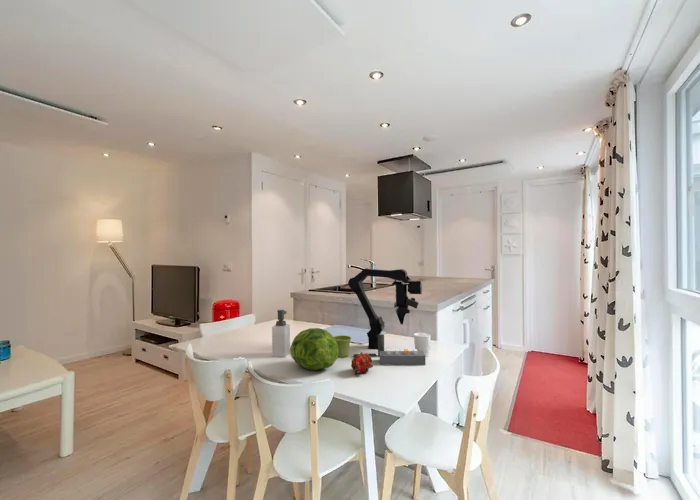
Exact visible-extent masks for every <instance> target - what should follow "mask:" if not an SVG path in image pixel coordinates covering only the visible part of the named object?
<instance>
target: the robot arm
mask: <svg viewBox="0 0 700 500" xmlns="http://www.w3.org/2000/svg"><path fill="white" fill-rule="evenodd" d="M368 277H378V278H388V279H390V280H391V279H392V280H393V282H391V286H395V296H394V297H395V302H394V303H393V308H394V309H395V310H394V311H395V314H396V315H397V318H398V321H399V323H400V325H404V321H405V316H406V314H410V313H411V311H410V310H411V309H410V307H411V308H414V309H417V308H418V306H419V301H417V300H416V298H414V297H411V298H409V296H408V293H409V294H410V295H423V286H422V280H412V279H410V277H409V275H408V271H406V270H405V269H404V268H398V269H397V268H396V269H390V270H388V269H378V268H377V269H376V268H375V269H374V268H366V267H365V268H363V269H362V270H361V271H360V272H359V273H358V274H356V275H355V276H354V277H351V278H349V280H348V282H347V285H348V287H349V288H350V290H351V291H352V292H353V293H354V294H355V295H356V296H357V298H358V300H359V302H360V304H361V306H362V308H363V311H364V312H365V315H366V316H367V318H368V322H369V323H368V324H369V327H370V330H369V331H367V332H366V334H367V335H366V336H367V338H368V339H367V341H368V342H367V343H368V345H367V348H368V349H369V350H378V335H379V334H381V333H382V332H383V331H384V330H385V323H386V322H385V321H383V317H382V316H378V315H377V313H376V312H375V310H374V308H373V306H372V304H371V302H370V300H369V298H368V296H367V294H366V292H365V290H364V289H365V288H364V284H363V282H364V281H365V280H366V279H367V278H368Z"/></svg>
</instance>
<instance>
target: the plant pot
mask: <svg viewBox="0 0 700 500" xmlns="http://www.w3.org/2000/svg"><path fill="white" fill-rule="evenodd" d="M333 337H334V339H335V340H336V342H337V345H338V357H337V358H347V357H348V356H349V351H350V343H351V340H352V337H351V336H349V335H344V334H343V335H335V336H333Z"/></svg>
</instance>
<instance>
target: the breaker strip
mask: <svg viewBox="0 0 700 500" xmlns="http://www.w3.org/2000/svg"><path fill="white" fill-rule="evenodd" d="M379 352H380V357H379V365H383V366H385V365H386V366H387V365H388V366H392V365H393V366H404V365H405V366H426V357H425V354H424V352H423V351H417V349H415V348H413V349H412V350H409V349H408V348H404V349H403V350H400V349H399V348H395V350H391V349H390V348H386V350H384V351H379Z"/></svg>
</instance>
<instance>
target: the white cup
mask: <svg viewBox="0 0 700 500" xmlns="http://www.w3.org/2000/svg"><path fill="white" fill-rule="evenodd" d="M413 339H414V340H413V341H414V344H413V345H414V349H417V351H423V352H424V354H425V358H428V357H430V355H431V352H430V350H431V333H428V332H415V333H413Z"/></svg>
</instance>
